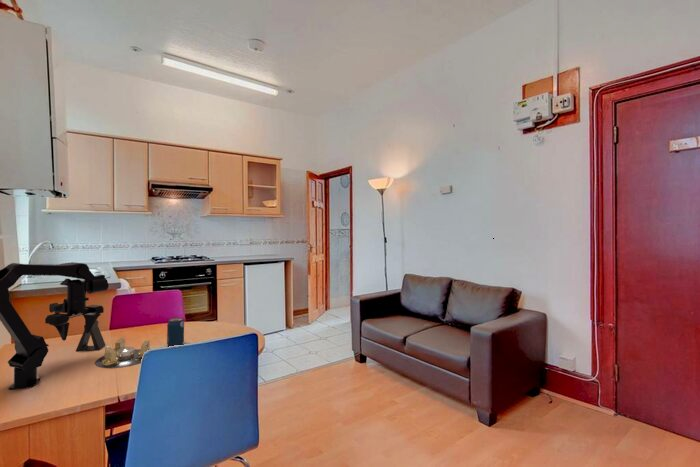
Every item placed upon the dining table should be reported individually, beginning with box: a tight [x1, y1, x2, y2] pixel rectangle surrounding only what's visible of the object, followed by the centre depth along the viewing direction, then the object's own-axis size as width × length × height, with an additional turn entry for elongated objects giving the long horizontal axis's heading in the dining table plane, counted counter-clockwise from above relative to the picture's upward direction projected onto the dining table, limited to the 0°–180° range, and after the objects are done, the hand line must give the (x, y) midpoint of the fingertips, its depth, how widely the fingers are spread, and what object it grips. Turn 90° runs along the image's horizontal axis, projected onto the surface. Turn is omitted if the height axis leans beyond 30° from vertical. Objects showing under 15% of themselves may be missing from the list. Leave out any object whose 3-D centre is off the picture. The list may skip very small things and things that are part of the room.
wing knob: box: [102, 345, 118, 367], centre depth 134 cm, size 7×5×6 cm
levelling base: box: [94, 337, 151, 369], centre depth 141 cm, size 20×20×7 cm
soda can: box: [166, 317, 185, 347], centre depth 161 cm, size 7×7×12 cm
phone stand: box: [75, 319, 106, 352], centre depth 154 cm, size 9×6×12 cm, turn 103°
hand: (76, 336), depth 134 cm, fingers open, 9 cm apart
